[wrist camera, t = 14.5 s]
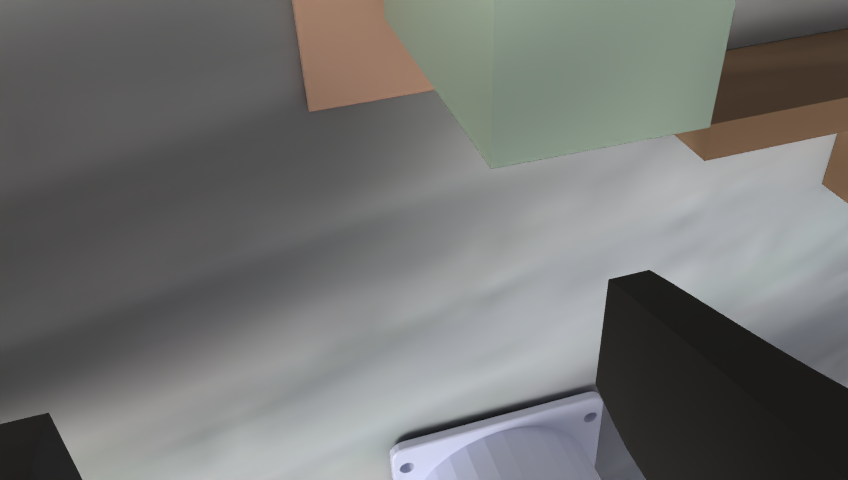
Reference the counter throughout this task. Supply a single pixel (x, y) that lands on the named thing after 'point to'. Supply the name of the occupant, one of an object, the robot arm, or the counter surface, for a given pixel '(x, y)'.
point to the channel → (781, 101)
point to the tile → (352, 54)
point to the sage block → (567, 69)
